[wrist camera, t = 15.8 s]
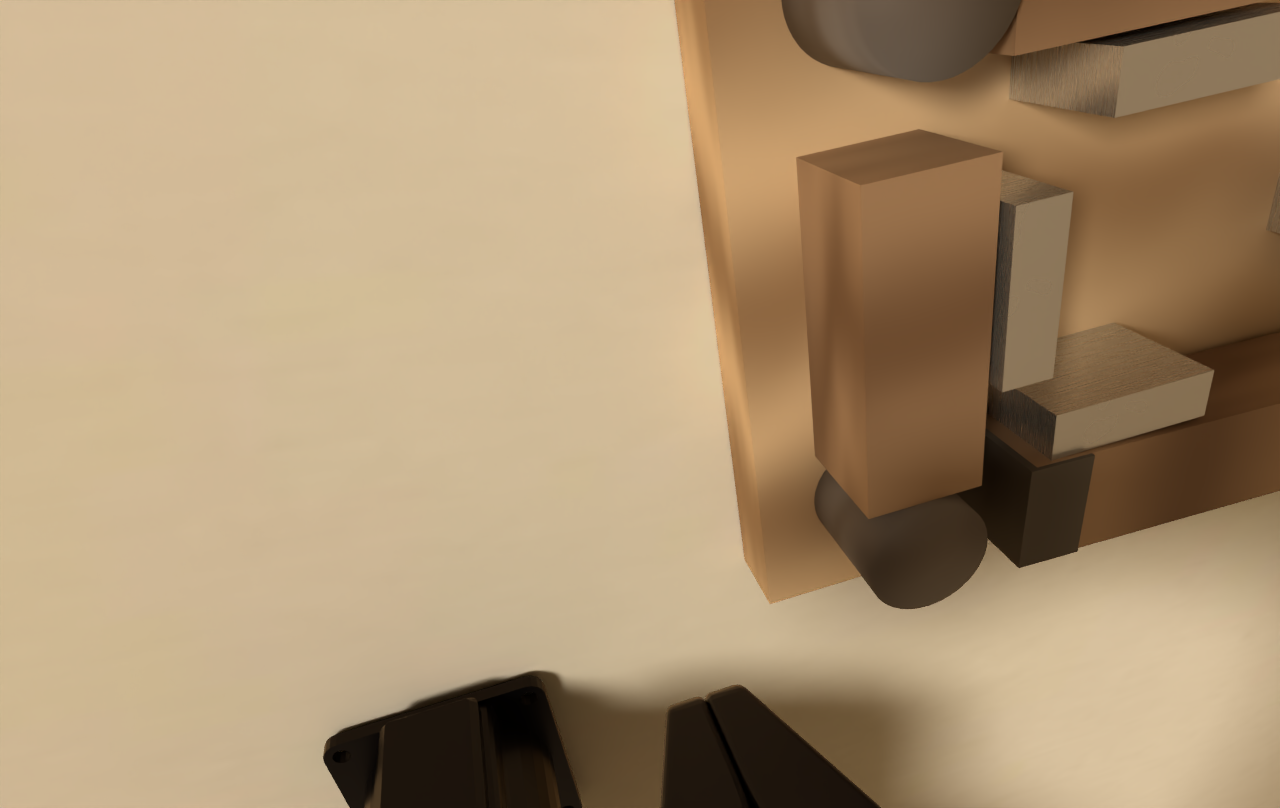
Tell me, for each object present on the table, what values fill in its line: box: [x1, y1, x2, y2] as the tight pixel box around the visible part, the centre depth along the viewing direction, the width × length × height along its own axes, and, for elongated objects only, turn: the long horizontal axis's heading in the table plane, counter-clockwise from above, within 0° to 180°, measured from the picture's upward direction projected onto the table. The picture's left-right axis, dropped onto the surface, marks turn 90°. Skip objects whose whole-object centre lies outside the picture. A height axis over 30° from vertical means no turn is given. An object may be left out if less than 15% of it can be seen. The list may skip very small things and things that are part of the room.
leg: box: [956, 332, 1280, 568], centre depth 20 cm, size 13×3×3 cm, turn 97°
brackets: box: [987, 3, 1280, 461], centre depth 18 cm, size 9×11×3 cm
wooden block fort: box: [675, 0, 1280, 609], centre depth 18 cm, size 18×20×5 cm
